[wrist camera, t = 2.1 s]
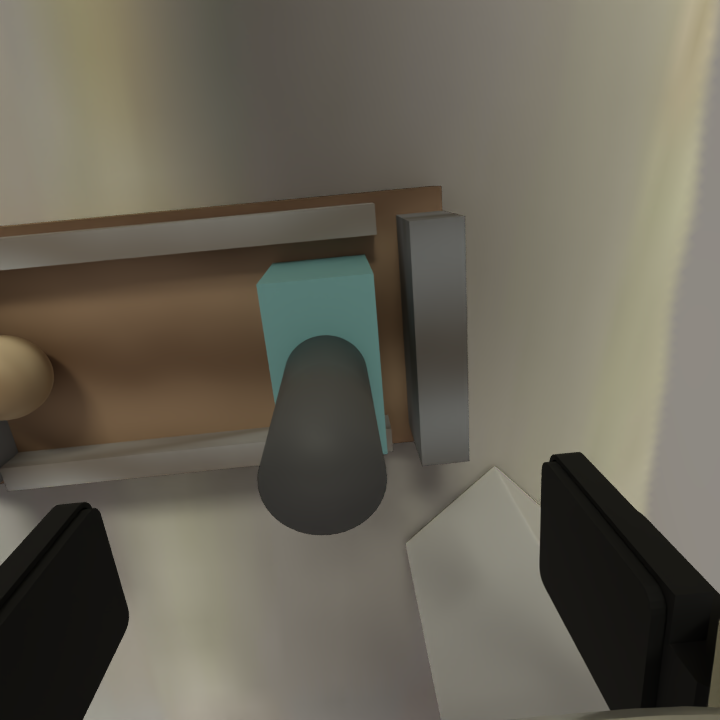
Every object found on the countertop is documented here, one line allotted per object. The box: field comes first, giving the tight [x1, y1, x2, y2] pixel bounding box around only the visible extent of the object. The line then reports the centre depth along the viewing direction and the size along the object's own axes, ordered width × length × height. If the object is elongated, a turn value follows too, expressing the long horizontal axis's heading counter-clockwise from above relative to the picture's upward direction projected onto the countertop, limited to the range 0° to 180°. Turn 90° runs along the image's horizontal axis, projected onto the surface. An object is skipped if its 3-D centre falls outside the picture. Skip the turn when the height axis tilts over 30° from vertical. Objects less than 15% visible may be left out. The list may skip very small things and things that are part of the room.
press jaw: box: [256, 254, 388, 535], centre depth 17 cm, size 7×4×12 cm, turn 5°
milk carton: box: [406, 466, 610, 720], centre depth 21 cm, size 7×7×19 cm
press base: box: [0, 186, 469, 491], centre depth 21 cm, size 12×25×8 cm, turn 95°
